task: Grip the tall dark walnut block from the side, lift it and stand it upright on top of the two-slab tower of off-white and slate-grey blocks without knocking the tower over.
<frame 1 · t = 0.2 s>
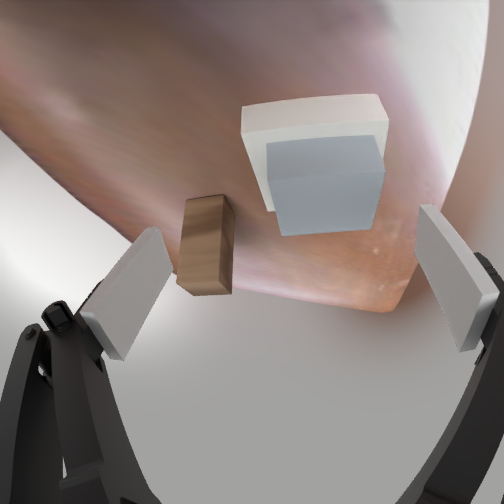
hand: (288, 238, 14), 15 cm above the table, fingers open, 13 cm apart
tower top: (322, 172, 27), point 3 cm above the table, touching tower base
walnut block: (211, 208, 39), on the table
tower base: (314, 141, 28), on the table, touching tower top
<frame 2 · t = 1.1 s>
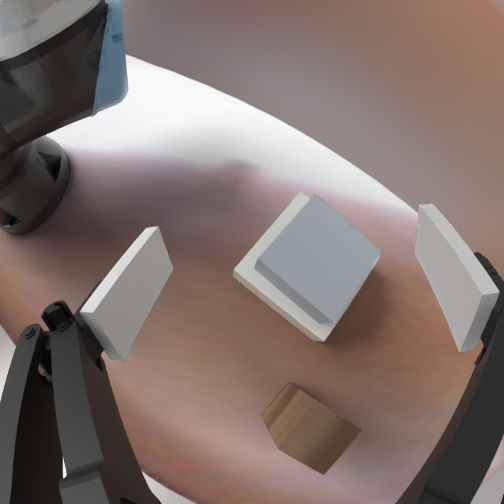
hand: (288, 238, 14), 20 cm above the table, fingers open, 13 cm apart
tower top: (312, 264, 32), point 3 cm above the table, touching tower base
walnut block: (291, 410, 31), on the table
tower base: (303, 270, 36), on the table, touching tower top
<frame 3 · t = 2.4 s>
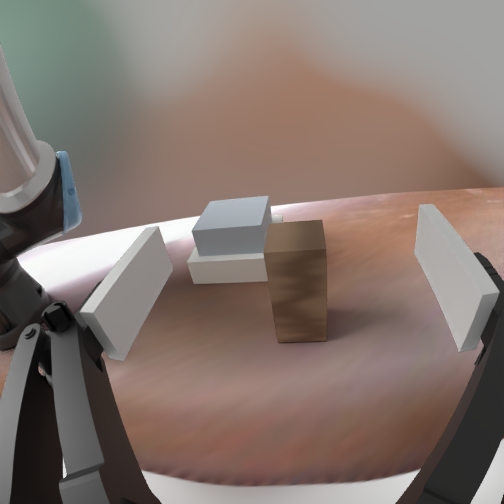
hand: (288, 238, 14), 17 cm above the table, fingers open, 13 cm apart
tower top: (237, 237, 43), point 3 cm above the table, touching tower base
walnut block: (302, 324, 32), on the table
tower base: (243, 259, 45), on the table, touching tower top
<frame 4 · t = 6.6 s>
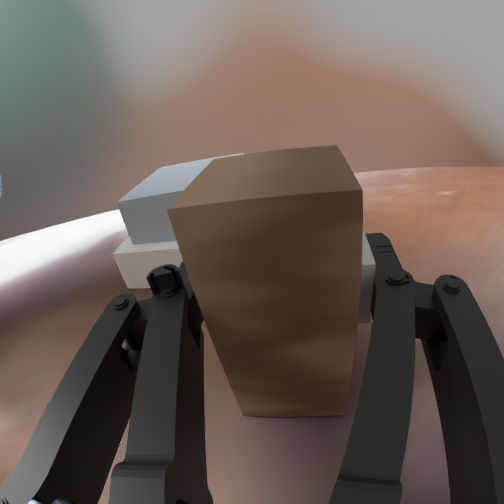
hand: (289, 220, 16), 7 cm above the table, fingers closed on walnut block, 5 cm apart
tower top: (196, 215, 27), point 3 cm above the table, touching tower base
walnut block: (296, 376, 15), on the table, touching gripper
tower base: (206, 251, 29), on the table, touching tower top
when the fingers open (16 cm above the table, at t = 11.2 s): walnut block drops 2 cm, point 7 cm above the table.
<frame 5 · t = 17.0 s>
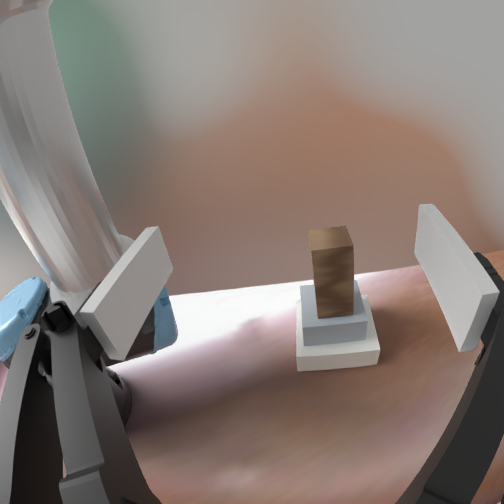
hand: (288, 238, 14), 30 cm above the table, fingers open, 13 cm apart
tower top: (331, 321, 44), point 3 cm above the table, touching tower base
walnut block: (333, 304, 42), point 7 cm above the table
tower base: (334, 340, 46), on the table, touching tower top
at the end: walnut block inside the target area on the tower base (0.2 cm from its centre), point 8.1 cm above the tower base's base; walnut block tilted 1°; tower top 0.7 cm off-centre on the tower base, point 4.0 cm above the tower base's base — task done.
